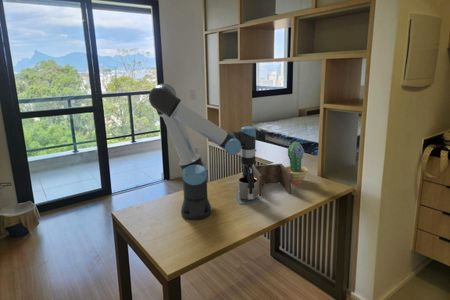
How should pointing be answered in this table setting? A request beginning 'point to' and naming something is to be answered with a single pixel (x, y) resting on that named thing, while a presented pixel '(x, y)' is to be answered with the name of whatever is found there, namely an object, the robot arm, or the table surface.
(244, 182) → the planter
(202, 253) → the table surface
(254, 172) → the wooden cubby shelf
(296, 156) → the potted cactus
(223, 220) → the table surface
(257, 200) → the mat
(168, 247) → the table surface
